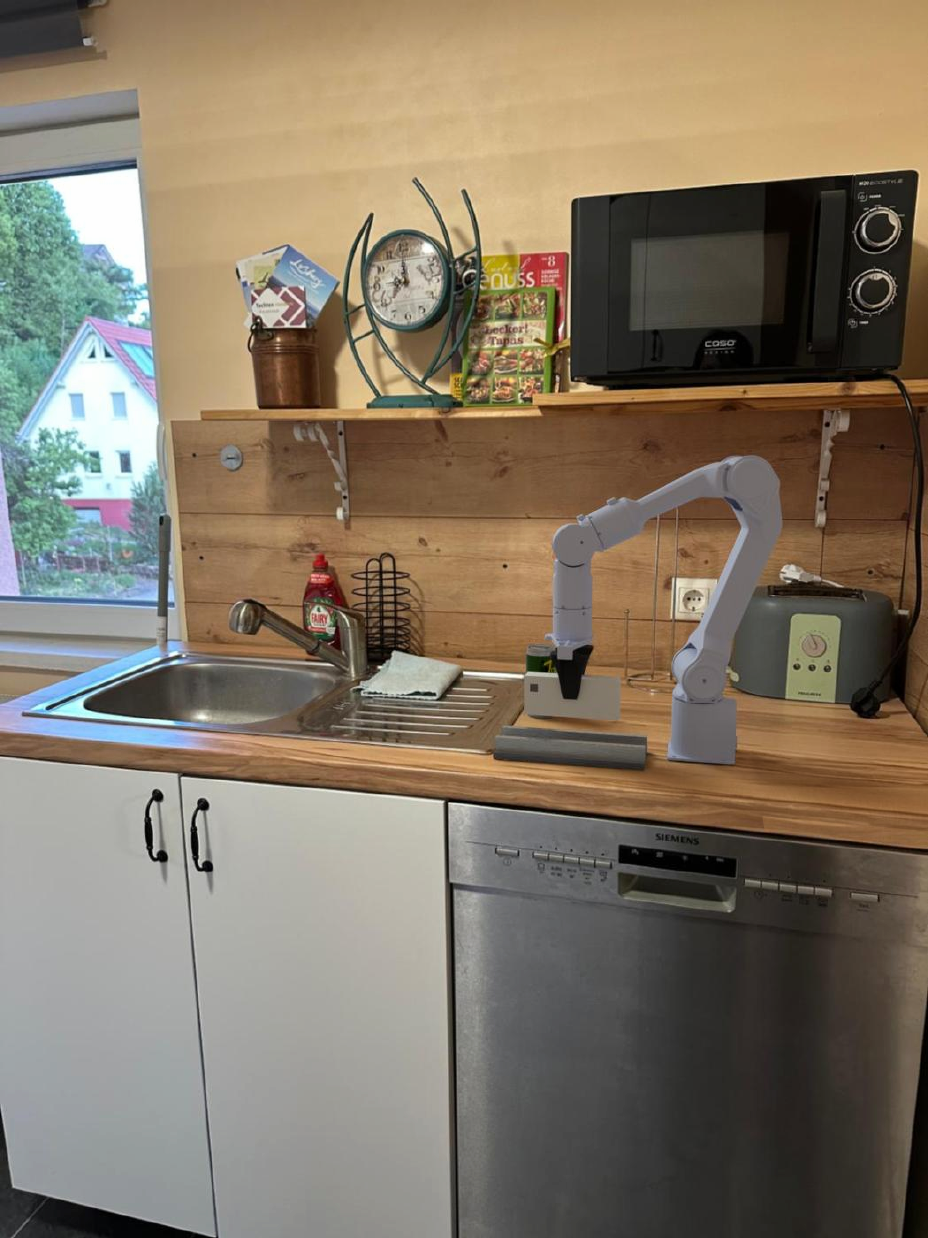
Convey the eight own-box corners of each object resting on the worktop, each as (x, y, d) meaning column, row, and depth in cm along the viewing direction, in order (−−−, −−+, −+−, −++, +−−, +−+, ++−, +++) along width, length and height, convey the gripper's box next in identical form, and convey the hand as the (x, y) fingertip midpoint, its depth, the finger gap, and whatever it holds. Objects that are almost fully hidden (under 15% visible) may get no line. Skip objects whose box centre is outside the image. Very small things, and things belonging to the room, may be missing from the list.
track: (647, 751, 126) (647, 732, 125) (644, 770, 118) (644, 750, 118) (505, 741, 131) (504, 723, 131) (493, 758, 124) (493, 739, 123)
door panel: (619, 715, 124) (620, 676, 123) (618, 721, 122) (619, 681, 120) (527, 709, 128) (527, 671, 127) (524, 714, 125) (524, 675, 124)
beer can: (520, 716, 144) (520, 648, 142) (533, 708, 149) (533, 642, 147) (549, 720, 142) (549, 651, 140) (561, 712, 146) (561, 645, 144)
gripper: (553, 597, 130) (553, 682, 132) (536, 614, 116) (536, 708, 118) (599, 598, 128) (598, 684, 130) (586, 615, 114) (585, 711, 116)
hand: (571, 696), depth 124 cm, fingers closed on door panel, 2 cm apart
